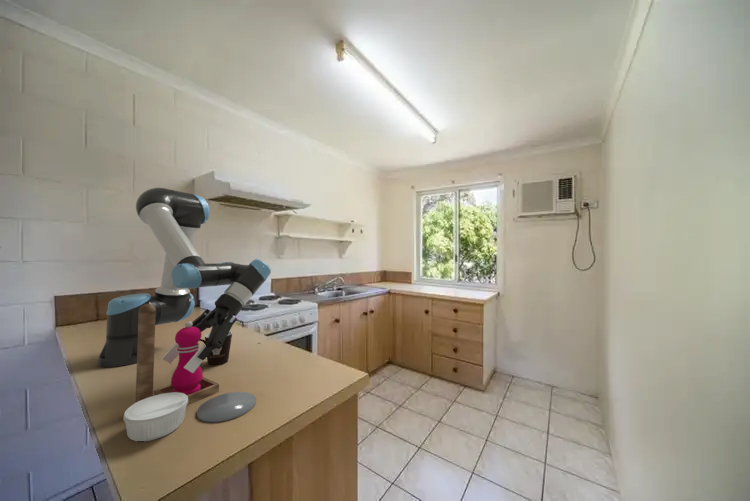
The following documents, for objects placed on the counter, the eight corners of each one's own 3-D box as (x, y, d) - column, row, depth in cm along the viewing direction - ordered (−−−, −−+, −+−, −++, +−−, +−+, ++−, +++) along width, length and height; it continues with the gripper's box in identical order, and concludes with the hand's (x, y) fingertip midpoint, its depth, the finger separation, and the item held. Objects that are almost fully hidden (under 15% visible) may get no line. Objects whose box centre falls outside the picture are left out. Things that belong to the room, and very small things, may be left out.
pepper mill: (167, 404, 69) (170, 325, 70) (173, 391, 76) (175, 320, 76) (200, 397, 73) (202, 322, 73) (203, 386, 79) (205, 317, 80)
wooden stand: (198, 381, 82) (200, 295, 83) (219, 391, 76) (222, 298, 77) (121, 409, 67) (125, 303, 67) (141, 424, 61) (144, 307, 62)
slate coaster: (205, 397, 72) (206, 395, 72) (258, 391, 76) (258, 388, 76) (188, 426, 60) (188, 424, 60) (252, 416, 64) (252, 414, 64)
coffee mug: (236, 358, 101) (237, 331, 101) (221, 367, 92) (222, 338, 93) (207, 357, 102) (208, 330, 102) (189, 366, 94) (190, 337, 94)
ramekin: (153, 449, 53) (154, 422, 53) (107, 442, 55) (108, 416, 55) (199, 416, 64) (200, 394, 64) (159, 411, 66) (160, 390, 66)
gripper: (264, 311, 82) (211, 382, 68) (220, 303, 94) (166, 363, 80) (249, 295, 78) (188, 368, 64) (204, 290, 90) (145, 350, 76)
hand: (176, 365), depth 72 cm, fingers open, 11 cm apart
